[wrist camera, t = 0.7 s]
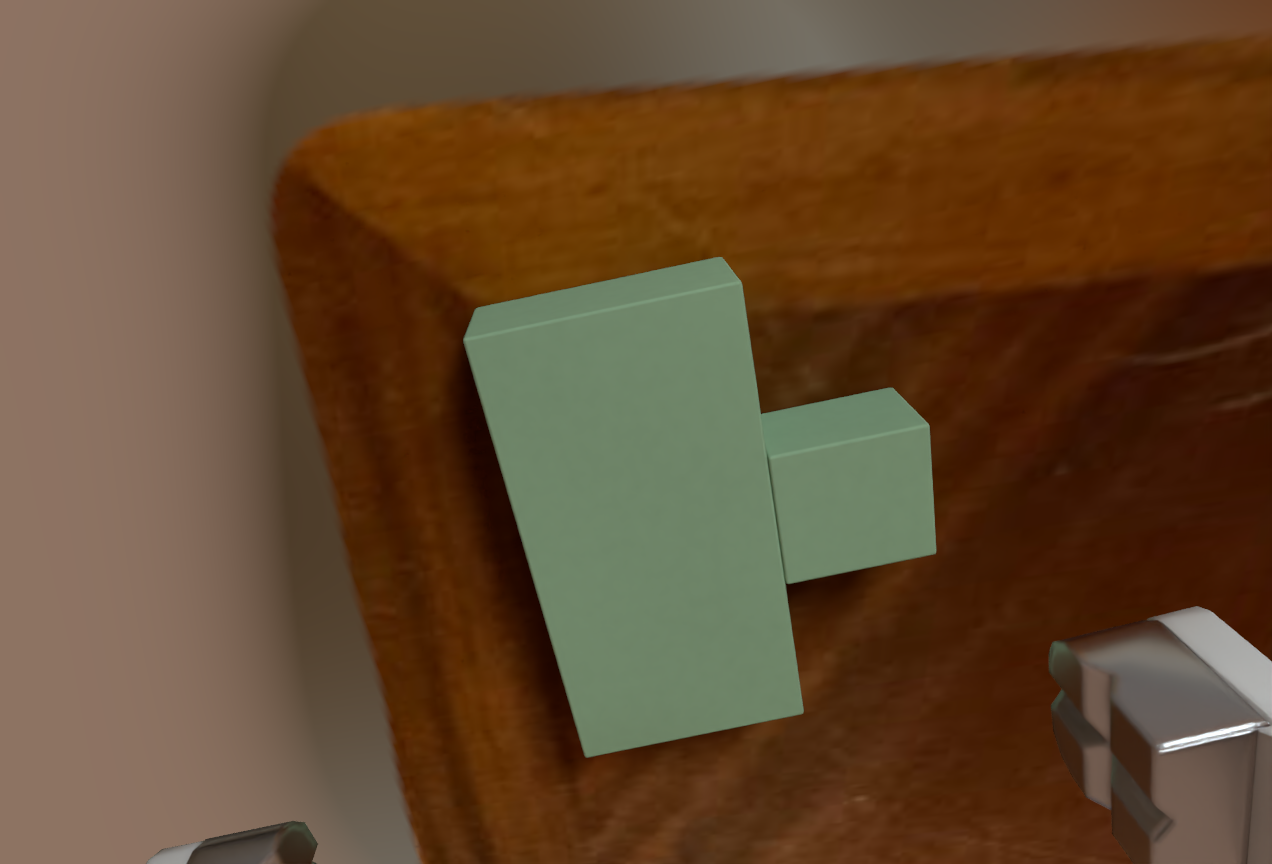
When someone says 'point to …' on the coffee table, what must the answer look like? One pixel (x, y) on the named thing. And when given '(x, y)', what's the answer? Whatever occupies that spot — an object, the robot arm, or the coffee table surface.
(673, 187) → the coffee table surface
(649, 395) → the green pad
